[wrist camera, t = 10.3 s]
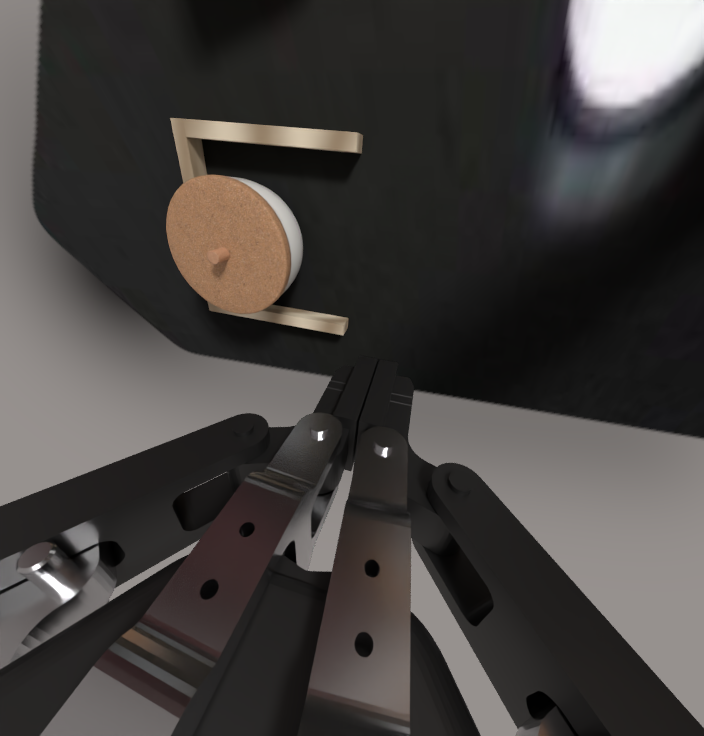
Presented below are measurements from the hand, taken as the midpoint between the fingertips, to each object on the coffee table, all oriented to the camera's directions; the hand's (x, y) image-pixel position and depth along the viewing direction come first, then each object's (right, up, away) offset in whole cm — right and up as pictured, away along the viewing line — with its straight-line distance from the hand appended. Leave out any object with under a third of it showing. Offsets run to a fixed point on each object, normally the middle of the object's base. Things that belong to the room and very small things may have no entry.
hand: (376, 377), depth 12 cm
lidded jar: (-9, +14, +19) cm, 25 cm away
